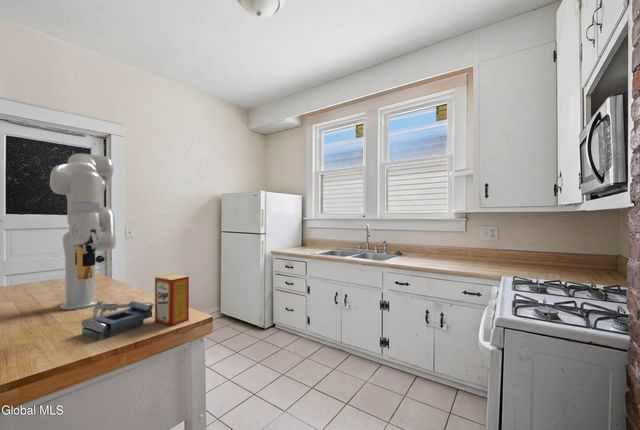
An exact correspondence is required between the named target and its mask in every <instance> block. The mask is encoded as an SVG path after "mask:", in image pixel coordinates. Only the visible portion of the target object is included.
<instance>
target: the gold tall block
mask: <svg viewBox="0 0 640 430" xmlns="http://www.w3.org/2000/svg"><path fill="white" fill-rule="evenodd" d="M89 243H91V242H86V244H89ZM87 248H88V246H87ZM82 254H84V248H83V244H77V279H78V280H81V279H89V278H93V266H86V267H83V266H82Z"/></svg>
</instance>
